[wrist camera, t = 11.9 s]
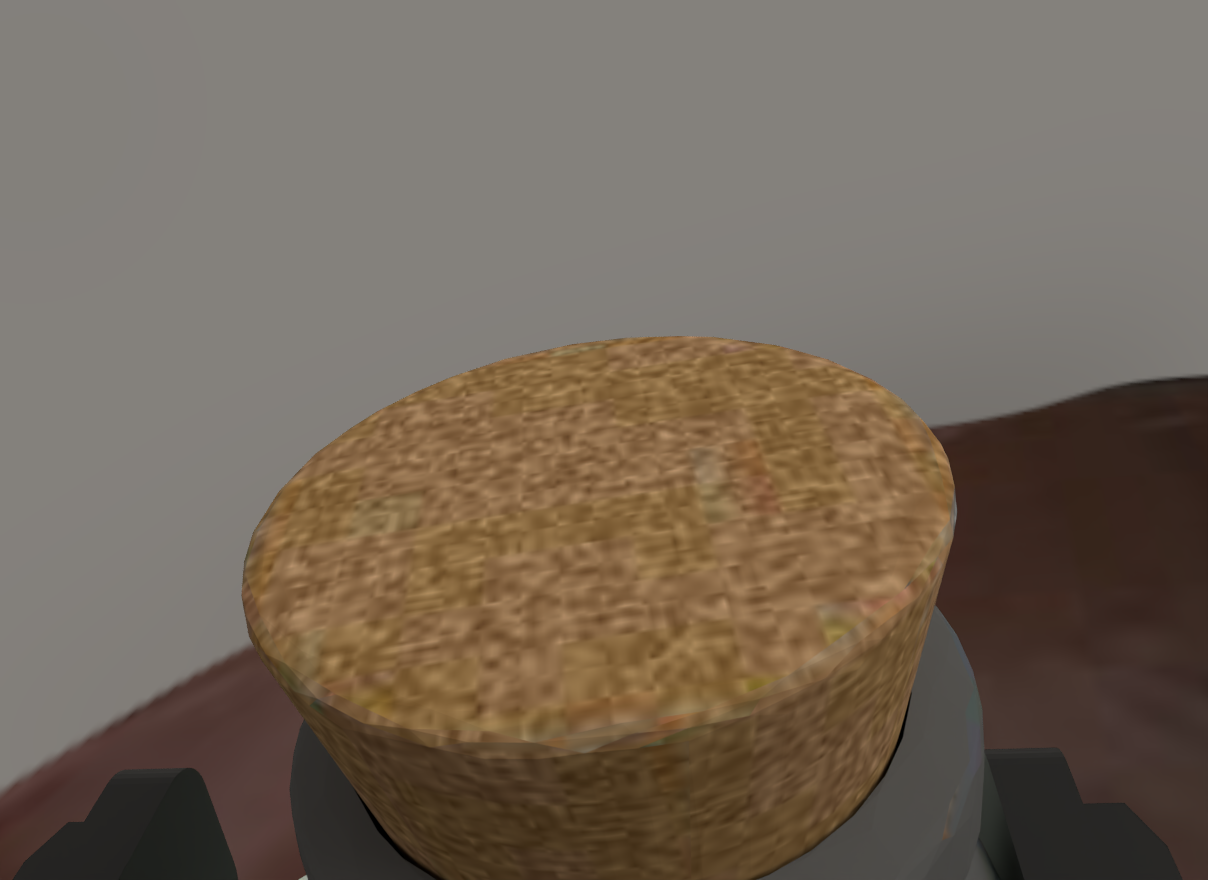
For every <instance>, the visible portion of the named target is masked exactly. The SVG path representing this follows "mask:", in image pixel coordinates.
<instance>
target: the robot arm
mask: <svg viewBox="0 0 1208 880" xmlns="http://www.w3.org/2000/svg"><path fill="white" fill-rule="evenodd" d="M984 757H985V758H984V781H983V795H982V810H981V825H980V833H979V836H978V837H979V838H980V840H981V841H982V843H983V845H984V847H985V849H986V851H987V853H988V855H989V857H990V859H991V861H992V863H993V865H994V867H995V869H996V871H997V873H998V875H999V877H1000V880H1182V877H1181V875H1180V873H1179V871H1178V869H1177V866H1176V864H1175V862H1174V860H1173V858H1172V855H1171V853H1170V851H1169V849H1168V846H1167V845H1166V844H1165V843H1164V842H1163V841H1162V840H1161V839H1160V838H1159V837H1158V836H1157V835H1156V834H1155V833H1154V832H1153V831H1152V830H1151V829H1150V828H1149V827H1148V826H1147V825H1146V824H1145V823H1144V822H1143V821H1142V820H1141V819H1140V818H1139V817H1138V816H1137V815H1136V814H1135V813H1134V812H1133V811H1132V810H1131V809H1130V808H1129V807H1128V806H1127V805H1126V804H1125V803H1096V804H1083V802H1082V800H1081V797H1080V795H1079V792H1078V790H1077V787H1076V784H1075V782H1074V779H1073V777H1072V774H1071V772H1070V769H1069V766H1068V764H1067V761H1066V759H1065V757H1064V755H1063V753H1062V752H1061V751H1060V750H1059V749H1058V748H1024V749H986V750H984ZM13 880H238V878H237V872H236V867H235V864H234V861H233V858H232V856H231V853H230V850H229V847H228V845H227V842H226V839H225V837H224V834H223V831H222V829H221V826H220V823H219V820H218V818H217V815H216V812H215V810H214V807H213V804H212V802H211V799H210V796H209V793H208V791H207V788H206V785H205V783H204V780H203V778H202V776H201V775H200V774H199V772H197V771H196V770H195V769H192V768H173V769H136V770H123V771H120V772H118V773H117V774H115V775H114V776H113V777H112V778H111V780H110V781H109V783H108V784H107V785H106V787H105V789H104V790H103V792H102V794H101V795H100V797H99V798H98V800H97V802H96V803H95V805H94V806H93V808H92V810H91V811H90V813H89V815H88V816H87V818H86V819H85V821H84V822H68V823H67V824H66V825H65V826H64V827H62V828H61V829H60V830H59V831H58V832H57V833H56V834H55V835H54V836H53V837H51V838H50V839H49V840H48V841H47V842H46V843H45V844H44V845H43V846H41V847H40V848H39V849H38V850H37V851H36V852H35V853H34V854H33V855H31V856H30V857H29V858H28V859H27V860H26V861H25V862H24V863H23V865H22V866H21V868H20V869H19V871H18V872H17V874H16V875H15V877H14V878H13Z"/></svg>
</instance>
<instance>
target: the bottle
mask: <svg viewBox="0 0 1208 880" xmlns="http://www.w3.org/2000/svg"><path fill="white" fill-rule="evenodd" d="M956 515H957V508H956V497H955V486H954V482H953V478H952V473H951V469H950V465H949V460H948V458H947V456H946V454H945V452H944V450H943V448H942V445H941V444H940V442H939V441H938V440H937V438H936V437H935V436H934V435H933V433H932V432H931V431H930V429H929V428H928V427H927V425H926V424H925V423H924V422H923V421H922V419H921V418H920V417H919V416H918V415H917V414H916V413H915V412H914V411H913V410H912V409H911V408H910V407H909V406H908V405H907V404H906V403H905V402H904V401H903V400H902V399H901V398H899V397H898V396H896V395H895V394H893V393H892V392H890V391H889V390H887V389H886V388H884V387H883V386H881V385H879V384H878V383H876V382H875V381H873V380H872V379H870V378H868V377H865V376H863V375H860V374H859V373H856V372H854V371H852V370H850V369H847V368H845V367H843V366H841V365H839V364H837V363H834V362H832V361H830V360H828V359H824V358H820V357H817V356H813V355H810V354H806V353H803V352H799V351H796V350H792V349H788V348H784V347H780V346H776V345H769V344H762V343H754V342H747V341H739V340H731V339H723V338H716V337H685V336H675V337H638V338H622V339H613V340H605V341H596V342H589V343H580V344H572V345H567V346H563V347H558V348H553V349H549V350H544V351H540V352H536V353H530V354H526V355H522V356H517V357H512V358H508V359H504V360H501V361H498V362H495V363H492V364H489V365H486V366H483V367H480V368H477V369H474V370H471V371H468V372H465V373H462V374H459V375H456V376H453V377H451V378H448V379H446V380H443V381H441V382H438V383H436V384H434V385H431V386H429V387H427V388H424V389H422V390H420V391H417V392H415V393H413V394H411V395H409V396H407V397H405V398H403V399H401V400H399V401H397V402H395V403H393V404H391V405H389V406H387V407H385V408H383V409H381V410H379V411H377V412H376V413H374V414H372V415H371V416H369V417H368V418H366V419H365V420H363V421H361V422H360V423H358V424H357V425H355V426H354V427H352V428H350V429H349V430H348V431H346V432H345V433H343V434H342V435H341V436H339V437H338V438H337V439H335V440H334V441H333V442H331V443H330V444H328V445H327V446H326V447H324V448H323V449H322V450H320V451H319V452H317V453H316V454H315V455H314V456H313V457H312V458H311V459H310V460H309V461H308V462H307V463H306V464H305V465H304V466H303V467H302V468H301V469H300V470H299V471H298V472H297V473H296V474H295V475H294V477H293V478H292V479H291V480H290V481H289V482H288V483H287V484H286V485H285V486H284V487H283V488H282V489H281V490H280V491H279V492H278V494H277V496H276V497H275V499H274V500H273V502H272V503H271V505H270V507H269V508H268V510H267V512H266V513H265V515H264V516H263V518H262V519H261V521H260V522H259V524H258V526H257V527H256V529H255V530H254V532H253V535H252V538H251V541H250V545H249V548H248V551H247V554H246V558H245V561H244V571H243V584H242V601H243V606H244V612H245V617H246V622H247V628H248V633H249V637H250V639H251V641H252V643H253V645H254V647H255V649H256V650H257V652H258V654H259V656H260V658H261V660H262V661H263V663H264V664H265V665H266V667H267V668H268V670H269V671H270V672H271V674H272V675H273V677H274V678H275V679H276V681H277V682H278V683H279V685H280V686H281V688H282V689H283V690H284V692H285V693H286V695H287V696H288V697H289V699H290V700H291V701H292V703H293V704H294V706H295V707H296V708H297V710H298V711H299V713H300V714H301V715H302V717H303V718H304V721H303V723H302V725H301V728H300V731H299V735H298V739H297V743H296V746H295V750H294V756H293V765H292V773H291V782H290V797H291V807H292V816H293V821H294V827H295V832H296V838H297V842H298V847H299V852H300V856H301V859H302V862H303V865H304V869H305V872H306V875H307V878H308V880H1000V877H999V875H998V873H997V871H996V869H995V867H994V865H993V863H992V861H991V859H990V857H989V855H988V853H987V851H986V849H985V847H984V845H983V843H982V841H981V840H980V838H979V837H978V836H979V833H980V825H981V810H982V795H983V781H984V758H985V757H984V736H983V715H982V706H981V702H980V698H979V694H978V690H977V686H976V682H975V677H974V673H973V670H972V668H971V666H970V664H969V661H968V659H967V657H966V655H965V652H964V650H963V648H962V646H961V643H960V641H959V639H958V637H957V635H956V633H955V632H954V630H953V629H952V628H951V626H950V625H949V623H948V622H947V621H946V619H945V618H944V616H943V615H942V613H941V612H940V611H939V609H938V608H937V607H936V606H935V602H936V598H937V595H938V591H939V587H940V584H941V580H942V576H943V573H944V569H945V565H946V562H947V558H948V554H949V551H950V547H951V543H952V540H953V535H954V528H955V522H956Z"/></svg>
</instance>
